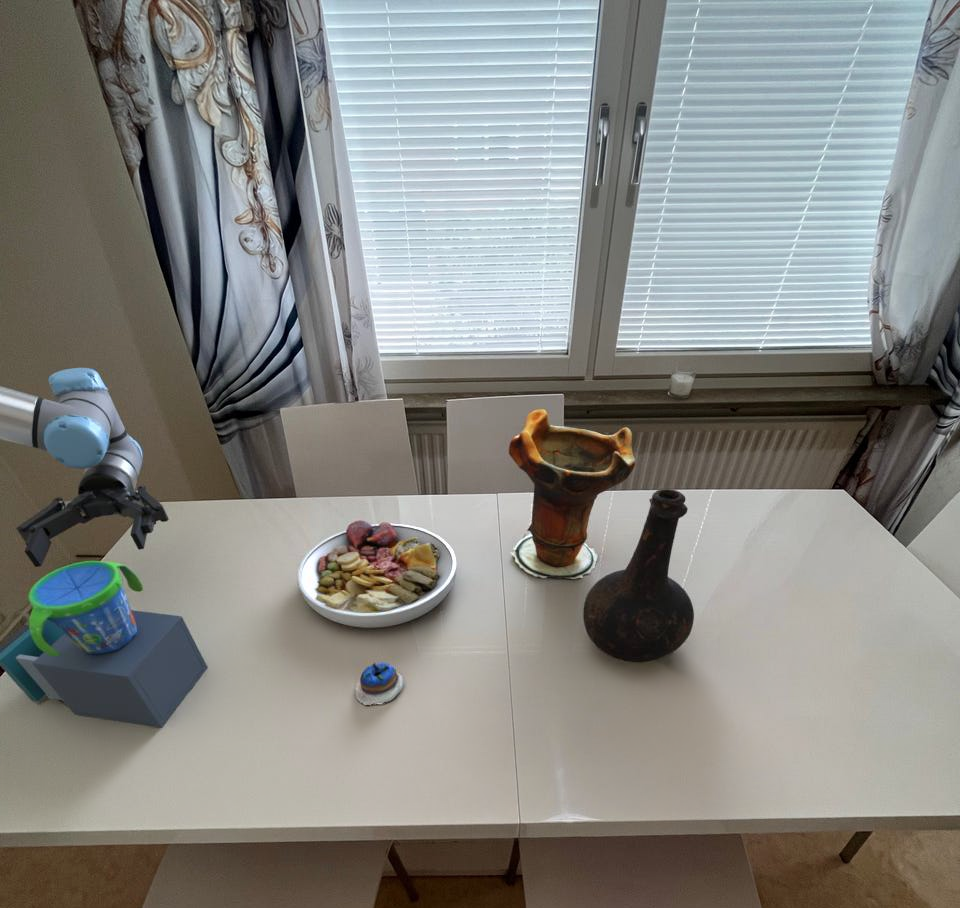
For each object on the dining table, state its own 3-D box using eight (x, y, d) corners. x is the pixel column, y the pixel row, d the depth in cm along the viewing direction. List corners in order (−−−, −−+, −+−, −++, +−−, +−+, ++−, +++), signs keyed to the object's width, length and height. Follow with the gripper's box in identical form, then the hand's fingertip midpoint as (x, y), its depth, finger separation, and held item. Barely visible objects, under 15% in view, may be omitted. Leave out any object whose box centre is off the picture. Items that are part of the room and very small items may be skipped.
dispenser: (74, 714, 82) (31, 663, 74) (128, 656, 91) (95, 605, 83) (161, 728, 80) (127, 676, 72) (208, 667, 89) (182, 616, 81)
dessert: (390, 659, 89) (393, 651, 83) (407, 694, 88) (412, 689, 83) (345, 679, 86) (346, 673, 81) (363, 716, 86) (364, 712, 80)
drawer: (-3, 695, 83) (-44, 653, 77) (52, 645, 91) (20, 602, 85) (110, 713, 81) (77, 670, 74) (156, 659, 89) (131, 617, 82)
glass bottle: (582, 676, 87) (610, 527, 68) (575, 607, 100) (597, 465, 81) (692, 682, 86) (753, 532, 67) (671, 611, 99) (717, 468, 80)
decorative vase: (618, 591, 104) (649, 451, 84) (500, 583, 106) (505, 445, 86) (611, 533, 119) (636, 404, 100) (508, 527, 121) (513, 399, 101)
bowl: (483, 606, 100) (483, 572, 95) (327, 657, 90) (317, 623, 85) (422, 530, 120) (419, 499, 114) (287, 566, 110) (277, 533, 104)
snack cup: (86, 686, 71) (43, 629, 64) (34, 663, 74) (-12, 606, 67) (179, 616, 81) (150, 561, 74) (130, 598, 84) (98, 544, 77)
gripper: (193, 493, 98) (187, 555, 83) (39, 516, 92) (3, 587, 77) (177, 454, 93) (168, 512, 78) (13, 475, 87) (-31, 543, 72)
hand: (86, 550), depth 78 cm, fingers open, 13 cm apart
